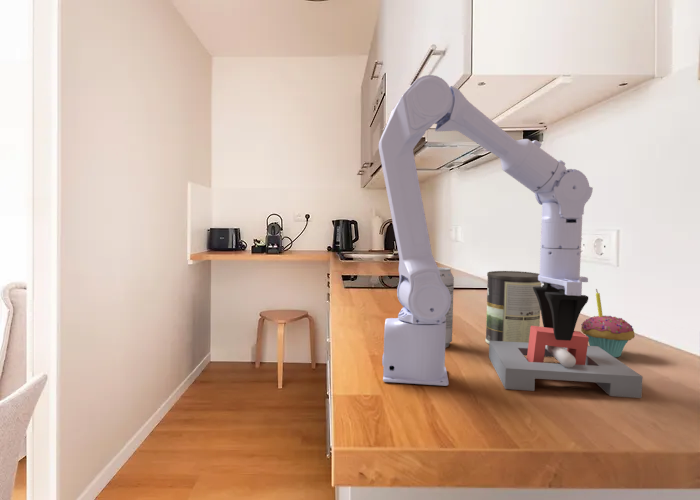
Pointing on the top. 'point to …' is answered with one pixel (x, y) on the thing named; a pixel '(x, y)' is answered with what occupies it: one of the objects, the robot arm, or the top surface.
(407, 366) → the robot arm
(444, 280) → the energy drink can
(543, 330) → the red arch block
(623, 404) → the top surface
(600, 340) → the cupcake
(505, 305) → the coffee can
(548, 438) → the top surface
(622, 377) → the grey frame with dowel
